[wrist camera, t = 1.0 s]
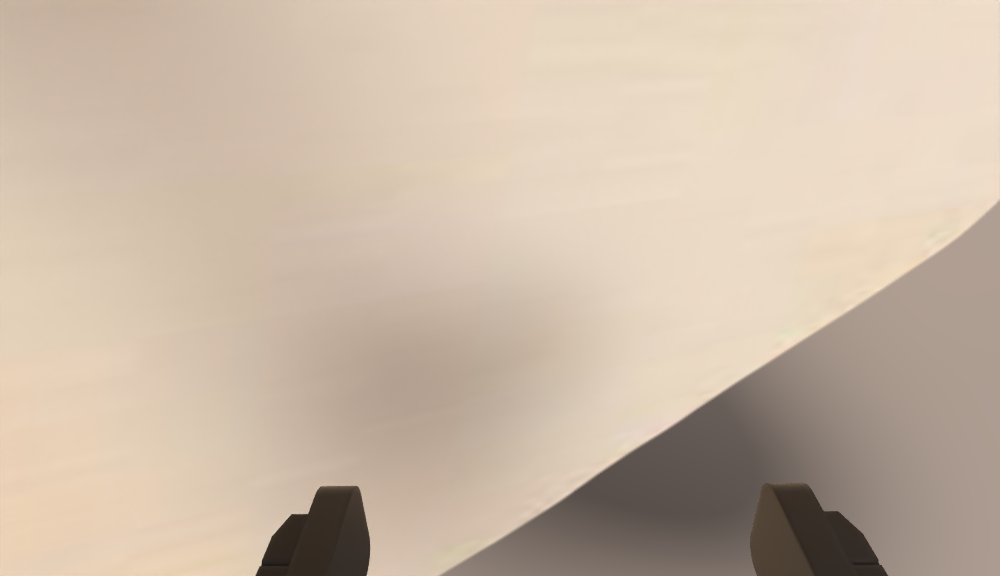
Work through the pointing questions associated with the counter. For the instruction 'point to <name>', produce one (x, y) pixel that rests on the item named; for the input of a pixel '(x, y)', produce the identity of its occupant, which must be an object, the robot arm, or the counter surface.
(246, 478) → the counter surface
